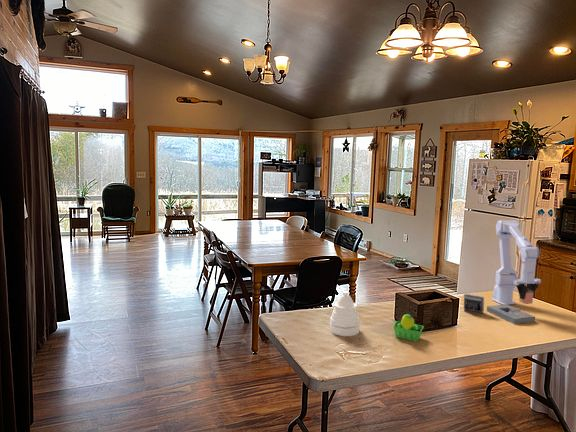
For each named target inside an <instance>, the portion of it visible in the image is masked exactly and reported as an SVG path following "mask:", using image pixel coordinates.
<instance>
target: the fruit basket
mask: <svg viewBox="0 0 576 432" xmlns="http://www.w3.org/2000/svg"><path fill="white" fill-rule="evenodd" d="M392 327H393V329H394V333H395V337H396V338H400V339H404V340H408V341H412V340H413V341H412V342H416V341H417V342H418V341H419V339H420V338H421V334H422V331H423V329H424V325H420V324H417V323H415V319H414V318H413V317H412V316H411V314H408V313H406V314H403V316H402V318H401V320H397V321H396V322H395V323H394V324H393V326H392Z"/></svg>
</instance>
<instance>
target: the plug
mask: <svg viewBox="0 0 576 432" xmlns="http://www.w3.org/2000/svg"><path fill="white" fill-rule="evenodd" d="M533 293H535V292H534V291H531V290H529V289H528V288H527V290H526V293H525V298H524V299H521V298H520V297H519V299H518V300H519V302H520V303H522V304H525V305H529V304H531V305H532V304H533V301H534V299H533V298H534V294H533Z"/></svg>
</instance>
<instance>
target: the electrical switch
mask: <svg viewBox="0 0 576 432" xmlns="http://www.w3.org/2000/svg"><path fill="white" fill-rule="evenodd" d="M484 307H485V297H484V296H483V295H479V294H473V293H472V294H471V293H467V292H466V293H463V310H464V312H467V313H473V314H476V315H482V313H484V309H485V308H484Z"/></svg>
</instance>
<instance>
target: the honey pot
mask: <svg viewBox="0 0 576 432" xmlns="http://www.w3.org/2000/svg"><path fill="white" fill-rule="evenodd" d="M333 306H334V308H333V310H332V313H331V316H330V317H329V331H330V333H333V335H337V336H341V337H352V336H356V335H358V334H359V333H360V318H359V315H358V311H357V308H358V304H357V303H355V302H354V300H353V299H352V297H351V295H350V294H349V291H345V290H344V291H342V295H341V296H340V297H339V298H338V299H337V302H335V303H334V305H333Z"/></svg>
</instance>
